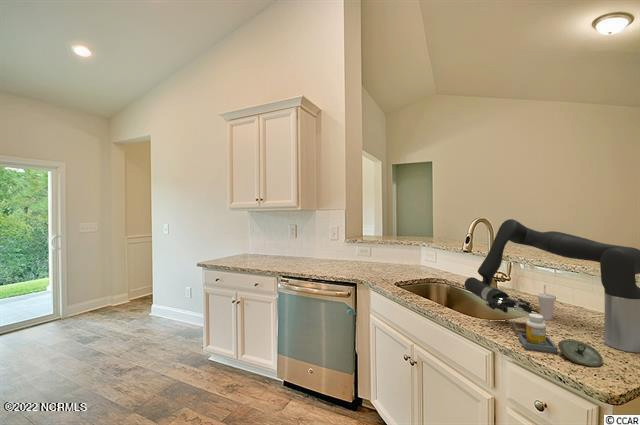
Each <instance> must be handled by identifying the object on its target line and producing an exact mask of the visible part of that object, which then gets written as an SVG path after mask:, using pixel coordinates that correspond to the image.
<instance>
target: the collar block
mask: <svg viewBox="0 0 640 425" xmlns="http://www.w3.org/2000/svg"><path fill="white" fill-rule="evenodd" d="M510 327H511V330H512V331H513V333H514V334H515V335H516V336H519V333H521V334H526V322H520V321H519V322H518V321H510Z"/></svg>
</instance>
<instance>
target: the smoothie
mask: <svg viewBox="0 0 640 425" xmlns="http://www.w3.org/2000/svg"><path fill="white" fill-rule="evenodd" d="M546 292H547V291H546V284H544V285H543V293H537V294H536V297H537V299H538V300H537V301H538V306H539V313H540V314H539V315H541V316H543V320H544V321H545V320H546V321H553V316H554V308H555V303H556V302H555V301H556V300H557V298H556V296H555V295H553V294H549V293H546Z"/></svg>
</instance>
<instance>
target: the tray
mask: <svg viewBox="0 0 640 425" xmlns="http://www.w3.org/2000/svg"><path fill="white" fill-rule="evenodd" d="M518 340H519V342H520V344H521V345H522V347H523V349H524V350H525V351H530V352H531V351H532V352H537V353H538V352H540V353H544V354H545V353H547V354H552V353H553V354H554V355H558V349H559V347H558V346H556V345H555V342H553V340H552V339H551V338H550V337H549V336H546V346H544V345H537V344H529V343H527V340H526V334H521V333H519V335H518ZM553 354H552V355H553Z"/></svg>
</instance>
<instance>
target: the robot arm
mask: <svg viewBox="0 0 640 425" xmlns="http://www.w3.org/2000/svg"><path fill="white" fill-rule="evenodd" d="M508 242H511V243H514V244H518V245H522V246H528V247H533V248H535V249H539V250H542V251H543V252H544V251H545V252H547V253H550V254H553V255H556V256H559V257H563V258H566V259H573V260H574V259H575V260H582V261H587V262H588V261H591V262H595V263H596V262H597V263H600V264H599V266H600V279H601V280H600V281H601V282H600V283H601V284H602V286H603V288H604V299H603V300H604V334H603V336H604V338H603V339H604V344H606V345H607V346H609V347H611V348H613V349H616V350H620V351H622V352H628V353H640V287H639V286H638V284H637V280H636V275H640V249H638V248H636V247H632V246H624V245H623V246H622V245H616V244H609V243H604V242H600V241H595V240H591V239H588V238H585V237H581V236H577V235H574V234H569V233H565V232H560V231H553V230H551V231H538V230H535V229H532V228H529V227H526V226H525V225H524V224H522V223H521V222H519V221H518V220H517V219H516V220H515V219H513V218H509V219H506V220H504V221H503V223H501V225H500V226H499V228H498V230H497V233H496V235H495V238H494V239H493V241H492V244H491V246H490V249H489V251H488V254H487V255H486V257H485V258H484V260H483V261H482V263H481V264H480V265H479V266H480V267H479V268H478V269H477V273H478V274H479V276H481V277H482V281H481V279H478V278H476V277H472V276H471V277H468V278H467V279H466V280H465V281H464V288H465V290H466V291H468V292H470V293H471V294H474V295H475V296H477V297H478V298H480V299H481V300H483V301H484V302H485V305H486V306H487V307H488V308H490V309H492V310H495V309H496V310H498V311H501V312H503V313H506V314H508V313H509V311H508V309H513V310H523V311H525V312H526V313H528V314H532V311H533V309H532V308H533V307H531V304H530V302H529V301H527V300H524V299H521V298H517V299H514V298H511V297H510V295H508V293H507V292H505V291H503V290H501V289H499V288H498V287H494V286H492V283H493V279H494V277H495V275H496V274H497V273H498V271H499V270H500V268H501V265H502V262H503V258H504V257H503V255H504V251H505V248H506V245H507V243H508Z"/></svg>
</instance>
